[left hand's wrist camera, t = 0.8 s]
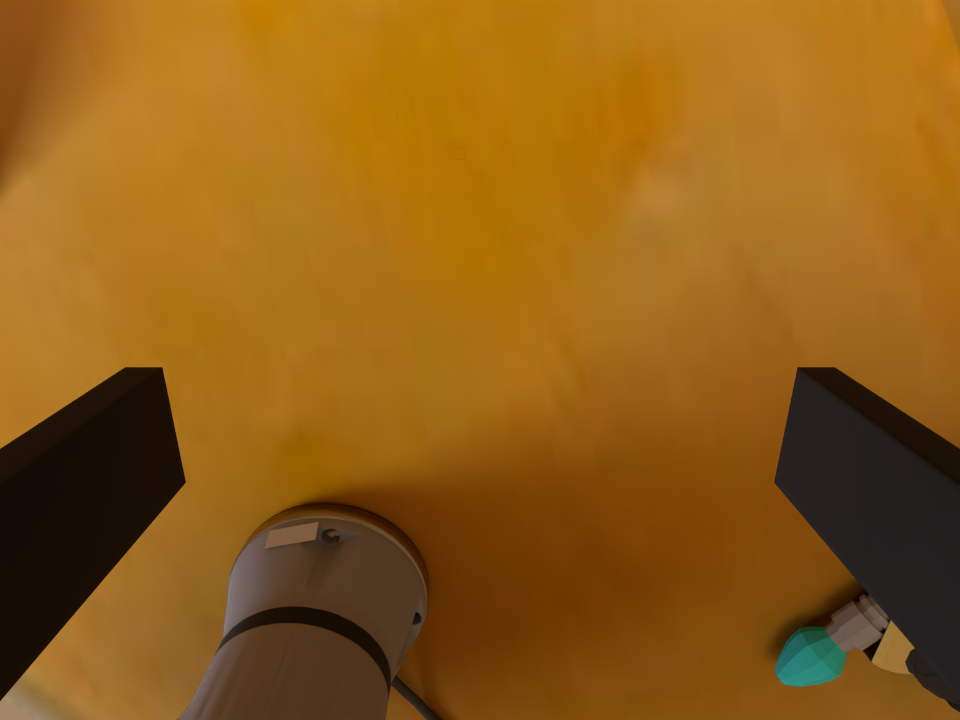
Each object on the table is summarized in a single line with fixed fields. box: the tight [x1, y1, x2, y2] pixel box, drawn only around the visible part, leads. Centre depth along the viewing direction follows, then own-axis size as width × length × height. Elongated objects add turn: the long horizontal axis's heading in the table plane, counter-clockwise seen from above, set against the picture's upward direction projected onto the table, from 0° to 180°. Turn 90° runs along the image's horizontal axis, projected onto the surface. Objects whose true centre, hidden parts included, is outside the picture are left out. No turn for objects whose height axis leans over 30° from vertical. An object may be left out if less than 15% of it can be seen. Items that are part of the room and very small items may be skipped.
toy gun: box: [775, 592, 960, 712], centre depth 45 cm, size 4×26×15 cm
